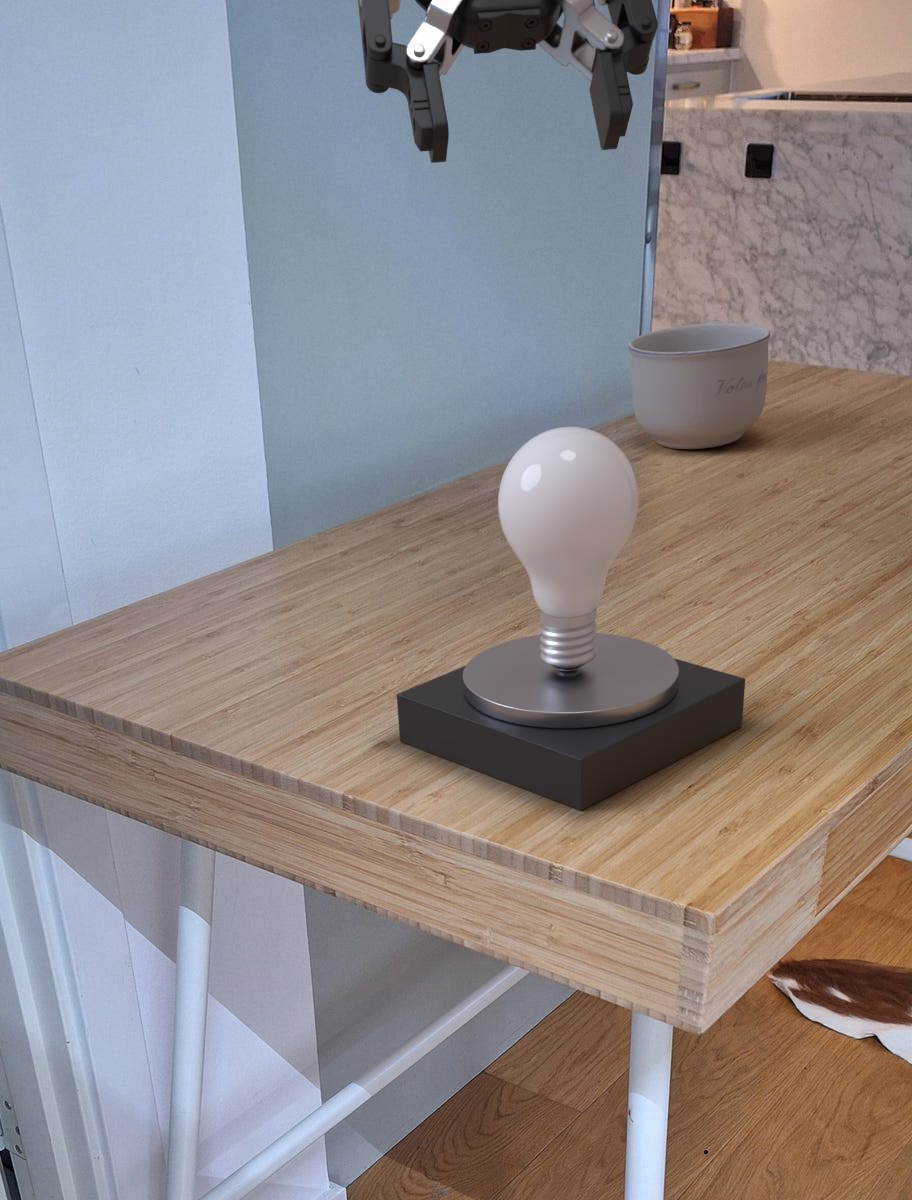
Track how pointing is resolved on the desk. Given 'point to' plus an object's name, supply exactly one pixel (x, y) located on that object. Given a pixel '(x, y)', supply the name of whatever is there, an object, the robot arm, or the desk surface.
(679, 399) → the teacup
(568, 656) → the lightbulb
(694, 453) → the desk surface
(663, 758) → the scale
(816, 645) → the desk surface
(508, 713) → the scale pan
